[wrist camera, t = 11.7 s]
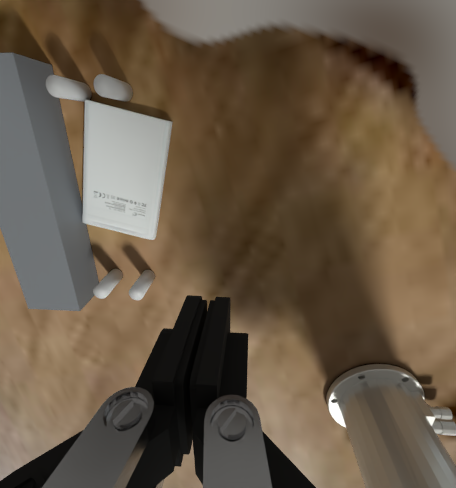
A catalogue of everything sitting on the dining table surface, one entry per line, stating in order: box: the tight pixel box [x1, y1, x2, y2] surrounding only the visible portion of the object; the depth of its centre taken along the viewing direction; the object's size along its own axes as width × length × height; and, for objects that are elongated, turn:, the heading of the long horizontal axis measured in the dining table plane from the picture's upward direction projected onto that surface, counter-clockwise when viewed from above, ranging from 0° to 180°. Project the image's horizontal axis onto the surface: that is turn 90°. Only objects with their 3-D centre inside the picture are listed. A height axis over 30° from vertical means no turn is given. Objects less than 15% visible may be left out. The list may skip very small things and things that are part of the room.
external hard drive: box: [82, 99, 172, 240], centre depth 28 cm, size 2×8×12 cm
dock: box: [0, 53, 155, 311], centre depth 28 cm, size 13×24×4 cm, turn 0°
